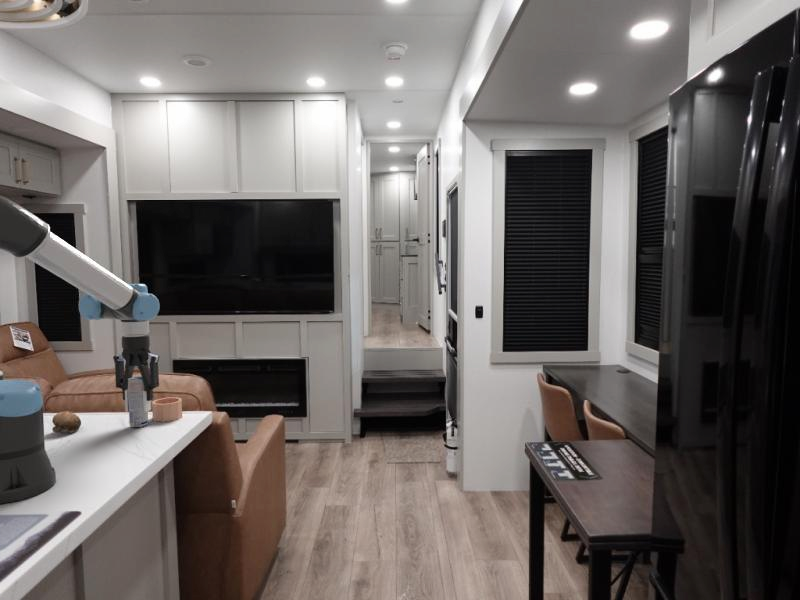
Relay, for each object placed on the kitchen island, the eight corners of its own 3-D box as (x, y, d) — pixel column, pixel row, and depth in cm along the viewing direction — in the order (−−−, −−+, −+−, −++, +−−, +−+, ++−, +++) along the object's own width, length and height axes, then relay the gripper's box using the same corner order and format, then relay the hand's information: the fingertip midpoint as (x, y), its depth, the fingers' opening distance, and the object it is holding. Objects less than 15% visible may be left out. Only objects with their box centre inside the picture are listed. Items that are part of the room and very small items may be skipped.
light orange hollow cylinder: (173, 422, 162) (172, 404, 161) (147, 421, 163) (146, 404, 162) (187, 414, 170) (186, 397, 170) (162, 413, 171) (161, 397, 171)
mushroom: (39, 423, 150) (53, 405, 151) (63, 426, 158) (76, 409, 158) (53, 440, 147) (67, 421, 148) (77, 442, 154) (90, 424, 155)
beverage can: (151, 423, 160) (149, 375, 159) (141, 428, 155) (140, 379, 154) (136, 423, 161) (134, 375, 160) (125, 428, 156) (123, 379, 155)
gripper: (170, 333, 159) (173, 408, 160) (115, 333, 161) (118, 406, 162) (156, 337, 151) (159, 415, 153) (99, 336, 153) (102, 413, 155)
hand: (138, 410), depth 158 cm, fingers closed on beverage can, 5 cm apart
